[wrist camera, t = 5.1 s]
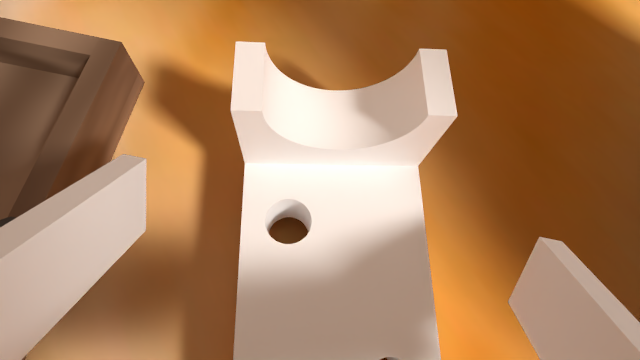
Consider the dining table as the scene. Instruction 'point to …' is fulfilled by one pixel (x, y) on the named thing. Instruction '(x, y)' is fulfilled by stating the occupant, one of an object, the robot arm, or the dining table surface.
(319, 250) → the bracket
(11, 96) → the walnut tray
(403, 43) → the dining table surface
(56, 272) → the robot arm
